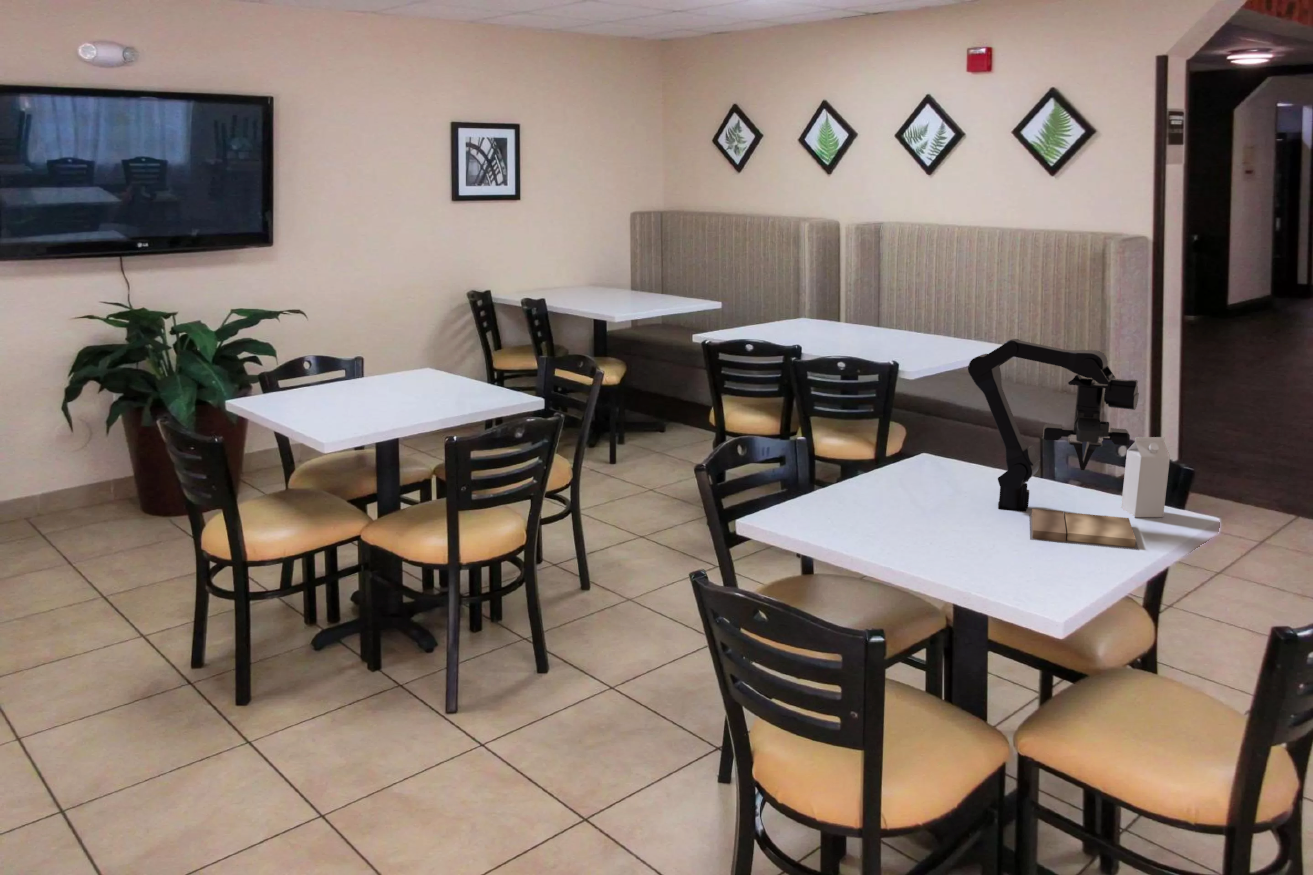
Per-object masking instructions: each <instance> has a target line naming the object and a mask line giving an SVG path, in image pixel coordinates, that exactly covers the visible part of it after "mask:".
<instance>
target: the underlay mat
mask: <svg viewBox="0 0 1313 875" xmlns="http://www.w3.org/2000/svg"><path fill="white" fill-rule="evenodd" d="M1028 518H1029V519H1028V520H1029V540H1031V541H1040V542H1049V543H1050V542H1052V543H1062V544H1071V545H1080V546H1081V545H1082V546H1092V547H1101V548H1112V549H1122V550H1123V549H1124V550H1135V551H1140V548H1139V546H1138V545H1139V544H1138V542H1137V541H1136V542H1135V547H1127V546H1117V545H1107V544H1097V543H1086V542H1076V541H1067V537H1066V542H1065V541H1055V540H1044V539H1034V538H1032V514H1029V517H1028Z"/></svg>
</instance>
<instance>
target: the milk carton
mask: <svg viewBox="0 0 1313 875" xmlns="http://www.w3.org/2000/svg"><path fill="white" fill-rule="evenodd" d="M1170 460H1171V456H1170V454H1169V450H1168V448H1167V446H1166V443H1165V437H1164V436H1156V437H1155V436H1153V437H1152V436H1149V437H1148V436H1147V437H1143V436H1142V437H1141V436H1139V437H1137V436H1136V437H1135V438H1134V442H1133V443H1132V444H1131V446H1129V448H1128V449H1127V450H1126V459H1125V465H1124V466H1125V468H1124V476H1123V478H1124V479H1123V485H1122V486H1123V487H1122V495H1121V496H1122V497H1121V503H1120V504H1121V505H1120V509H1121V508H1122V509H1121V510H1123V511H1125V512H1126V511H1127V512H1126V513H1128V514H1129V515H1131V514H1132V516H1133V517H1134V516H1135V517H1134V518H1163V517H1164V515H1165V514H1164V513H1165V504H1166V495H1167V488H1168V487H1167V486H1168V478H1169V477H1168V476H1169V468H1170Z"/></svg>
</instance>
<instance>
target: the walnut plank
mask: <svg viewBox="0 0 1313 875" xmlns="http://www.w3.org/2000/svg"><path fill="white" fill-rule="evenodd" d="M1031 515H1032V538H1034V539H1044V540H1055V541H1065V542H1066V527H1065V520H1064V515H1065V512H1064V511H1062V510H1053V509H1052V510H1050V509H1049V510H1048V509H1041V508H1040V509H1039V508H1031Z"/></svg>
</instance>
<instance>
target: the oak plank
mask: <svg viewBox="0 0 1313 875" xmlns="http://www.w3.org/2000/svg"><path fill="white" fill-rule="evenodd" d="M1064 520H1065V527H1066V537H1067V541H1076V542H1086V543H1097V544H1107V545H1117V546H1127V547H1135V542H1137V539H1136V536H1135V533H1134V531H1133V530H1134V529H1133V527H1132V525H1131V521H1130V518H1129V517H1121V516H1109V515H1099V514H1089V513H1088V514H1087V513H1077V512H1066V511H1065V512H1064Z"/></svg>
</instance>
